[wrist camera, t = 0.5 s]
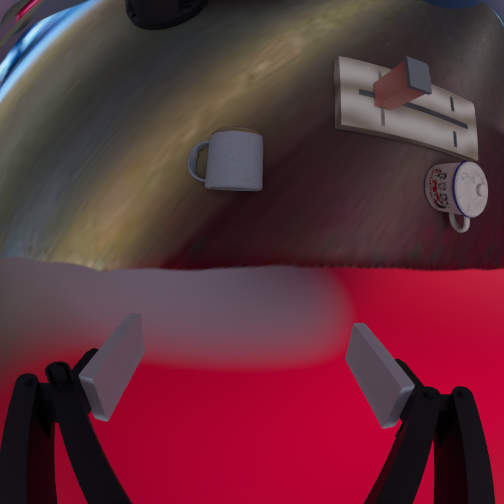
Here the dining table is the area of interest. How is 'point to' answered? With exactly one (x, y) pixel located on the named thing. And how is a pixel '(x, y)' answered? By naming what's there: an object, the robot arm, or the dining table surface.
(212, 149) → the ceramic mug
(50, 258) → the dining table surface
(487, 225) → the dining table surface
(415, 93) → the fader tab
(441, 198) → the teacup with lid
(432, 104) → the panel
